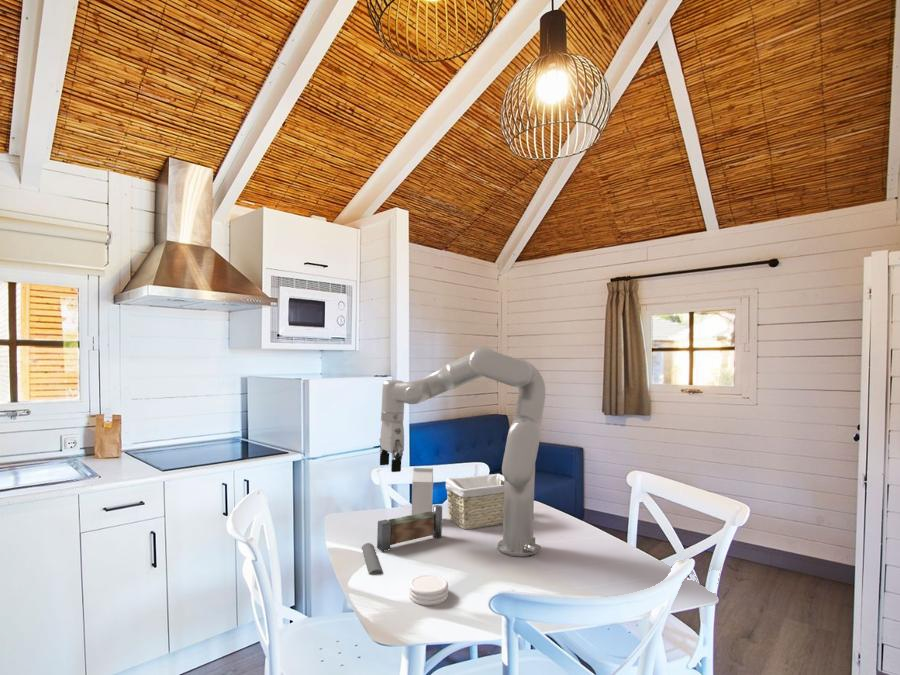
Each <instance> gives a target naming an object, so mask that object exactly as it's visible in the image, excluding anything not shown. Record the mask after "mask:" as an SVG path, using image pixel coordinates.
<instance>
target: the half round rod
mask: <svg viewBox="0 0 900 675" xmlns="http://www.w3.org/2000/svg"><path fill="white" fill-rule="evenodd" d="M374 548H375V546H374V545H373V544H372V543H370V542H367V543H364V544H363V545H361V551H362V550H363V552H362V555H363V554H364V555H363V558H365V559H364V561H365V565H366V569H367V572H368V575H375V574H383V573H384V572H383V569H382V566H381V563H380V560H379V557H378V555H376V554H377V551H376V548H375V549H374ZM375 551H376V552H375Z"/></svg>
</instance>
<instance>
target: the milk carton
mask: <svg viewBox="0 0 900 675" xmlns="http://www.w3.org/2000/svg"><path fill="white" fill-rule="evenodd" d="M412 472H413V473H412V484H411V486H412V487H411V515H414V514H420V513H425V512H430V511H432V512H433V497H434V496H433V495H434V494H433V492H434V468H433V467H432V468H431V467H430V468H429V467H413V469H412Z"/></svg>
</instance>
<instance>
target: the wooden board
mask: <svg viewBox="0 0 900 675" xmlns="http://www.w3.org/2000/svg"><path fill="white" fill-rule="evenodd" d="M388 521H390V522H391V540H390V546H393V545H396V544H400V543H406V542H409V541H413V540H417V539H423V538H426V537H429V536H433V535H434V512H433V510H432V511H430V512H425V513H420V514H414V515H412V514H410V515H406V516H405V515H404V516H399V517H396V518H391V519H390V518H389V519H388Z"/></svg>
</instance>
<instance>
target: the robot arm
mask: <svg viewBox="0 0 900 675" xmlns="http://www.w3.org/2000/svg"><path fill="white" fill-rule="evenodd" d="M483 377H485V378H487V379H490V380H493V381H495V382H498V383H500V384H504V385H507V386H510V387H514V388H517V389H518V396H517V401H516V408H515V413H514V418H513V421H512V422H511V425H510V426H509V429H508V432H507V433H508V434H507V437H506V443H505V448H504V449H505V450H504V453H503V458H502V464H501V465H502V466H501V472H502V474H501V475H503V476H504V483H503V485H504V506H503V524H502V539H501V540H500V541H498V542H497V549H498V551H500V552H501V553H502V554H505V555H508V556H511V557H529V555H531V556H533V554H534V555H536V554H538V552H539V550H540V549H541V545H540V544H538V543H536V537H535V536H534V514H535V513H534V511H535V510H534V506H535V505H534V503H535V502H534V500H535V477H536V461H537V457H538V451H539V445H540V440H541V435H542V434H541V431H542V430H541V426H542V420H543V413H544V408H545V400H546V385H545V384H546V383H545V380H544V378H543V375H542V374H541V372H540V371H539V369H538V368H537V367H535V365H533V364H532V363H531V362H530V361H527V360H525V359H523V358H522V359H521V358H516V357H512V356H509V355H506V354H503V353H500V352H497V351H495V350H494V349H492V348H489V347H478V348H476V349H475V350H473V351H472V352H471V353H468V354H466V355H465V356H462V357H460V358H457V359H455V360H452V361H451V362H448V363H446V364H445V365H444V366H443V367H442V368H441V369H439V370H437V371H435V372H433V373H431V374H429V375H426V376H425V377H423V378H420V379H418V380H412V381H402V380H398V379H386V380H384V381H383V383H382V390H381V391H382V392H381V410H380V411H381V414H380V415H381V416H380V422H381V427H380V428H381V429H380V438H379V448H380V449H379V466H388V465H390V454H391V456H392V459H391V467H390V468H391V469H390V472H391V473H398V472H399V473H400V472H401V471H402V460H403V456H404V454H403V453H404V451H405V429H404V418H405V417H404V416H405V414H404V413H405V404H408V405H418V404H421V403H423V402H425V401H428V400H431V399H432V398H434V397H436V396H438V395H440V394H444V393H447V392H448V391H451V390H455V389H458V388H460V387H462V386H464V385H466V384H468V383H471V382H474V381H475V380H478V379H480V378H483Z"/></svg>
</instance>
